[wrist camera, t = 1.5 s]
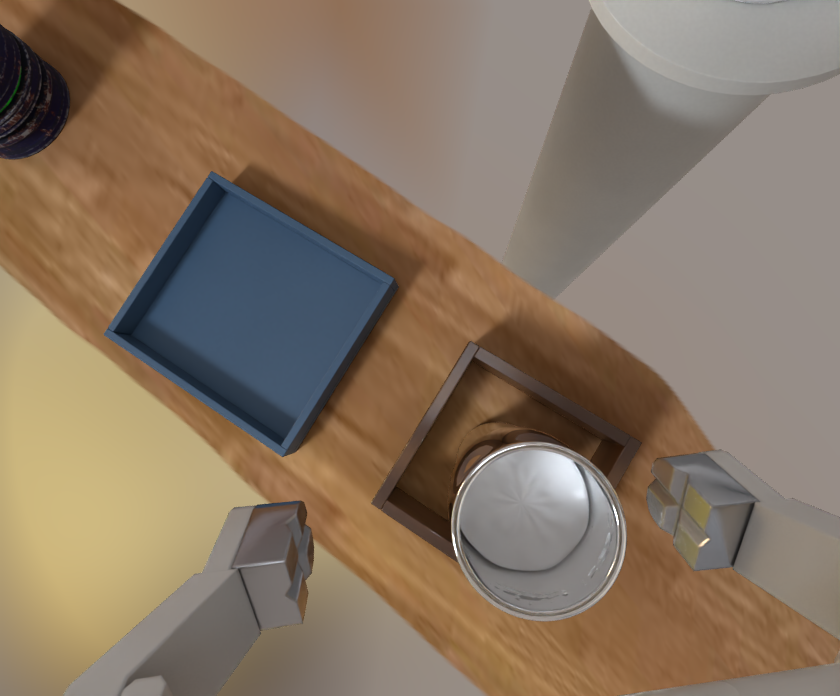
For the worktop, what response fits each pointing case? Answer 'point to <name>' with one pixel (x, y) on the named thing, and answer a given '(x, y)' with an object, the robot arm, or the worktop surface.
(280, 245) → the tray
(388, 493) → the wooden square box
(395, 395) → the worktop surface
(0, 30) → the navy layered cylinder
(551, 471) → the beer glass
